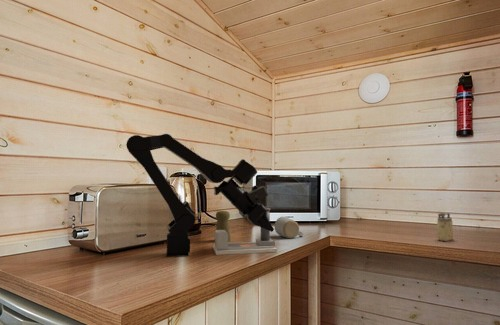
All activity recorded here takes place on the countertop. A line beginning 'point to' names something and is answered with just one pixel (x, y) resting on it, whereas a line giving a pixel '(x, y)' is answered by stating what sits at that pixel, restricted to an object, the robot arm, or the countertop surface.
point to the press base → (237, 245)
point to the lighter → (444, 227)
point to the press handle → (265, 234)
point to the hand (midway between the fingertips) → (269, 228)
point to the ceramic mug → (287, 227)
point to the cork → (223, 222)
